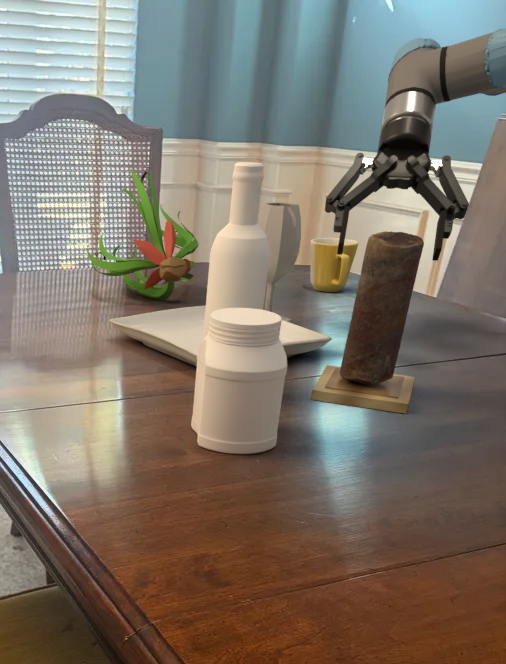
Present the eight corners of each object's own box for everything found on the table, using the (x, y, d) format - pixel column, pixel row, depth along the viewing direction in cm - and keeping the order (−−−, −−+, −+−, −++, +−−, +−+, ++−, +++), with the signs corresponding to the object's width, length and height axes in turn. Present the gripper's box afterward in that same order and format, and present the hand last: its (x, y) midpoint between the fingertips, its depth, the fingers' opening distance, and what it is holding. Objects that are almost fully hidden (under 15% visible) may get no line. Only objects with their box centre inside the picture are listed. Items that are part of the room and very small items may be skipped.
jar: (188, 419, 102) (197, 303, 94) (260, 420, 102) (275, 304, 95) (201, 454, 92) (213, 328, 84) (280, 454, 92) (299, 329, 85)
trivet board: (413, 386, 116) (415, 375, 115) (406, 414, 105) (409, 402, 104) (325, 374, 120) (327, 363, 119) (310, 399, 109) (312, 388, 109)
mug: (301, 284, 179) (308, 236, 174) (346, 286, 178) (354, 238, 173) (307, 297, 168) (315, 246, 162) (355, 299, 167) (364, 248, 161)
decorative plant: (136, 341, 154) (79, 303, 177) (244, 306, 160) (175, 273, 183) (117, 205, 138) (58, 182, 161) (238, 171, 144) (164, 154, 167)
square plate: (207, 382, 115) (209, 356, 113) (105, 339, 135) (106, 316, 133) (331, 356, 128) (335, 333, 126) (222, 320, 148) (224, 300, 146)
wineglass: (234, 322, 147) (246, 203, 137) (262, 315, 152) (276, 200, 142) (270, 331, 142) (286, 208, 131) (299, 324, 147) (316, 204, 136)
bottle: (224, 408, 106) (249, 166, 91) (186, 392, 111) (204, 161, 96) (265, 397, 110) (295, 164, 95) (226, 382, 115) (249, 160, 100)
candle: (399, 380, 113) (431, 234, 103) (384, 393, 107) (416, 241, 97) (348, 370, 116) (374, 228, 106) (331, 382, 111) (357, 235, 101)
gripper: (486, 154, 119) (472, 273, 114) (321, 150, 125) (300, 262, 120) (500, 116, 112) (486, 240, 107) (324, 113, 118) (303, 230, 113)
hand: (387, 252), depth 114 cm, fingers open, 13 cm apart
